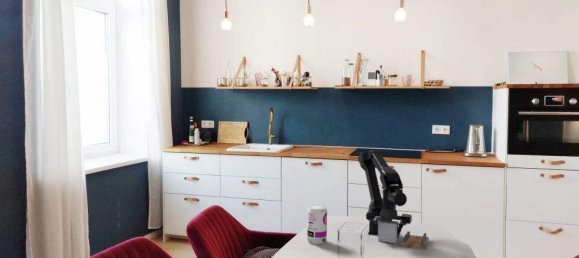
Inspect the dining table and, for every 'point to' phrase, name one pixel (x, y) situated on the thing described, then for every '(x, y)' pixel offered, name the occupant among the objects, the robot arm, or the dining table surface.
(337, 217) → the dining table surface
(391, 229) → the medicine box
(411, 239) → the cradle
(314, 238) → the supplement can
